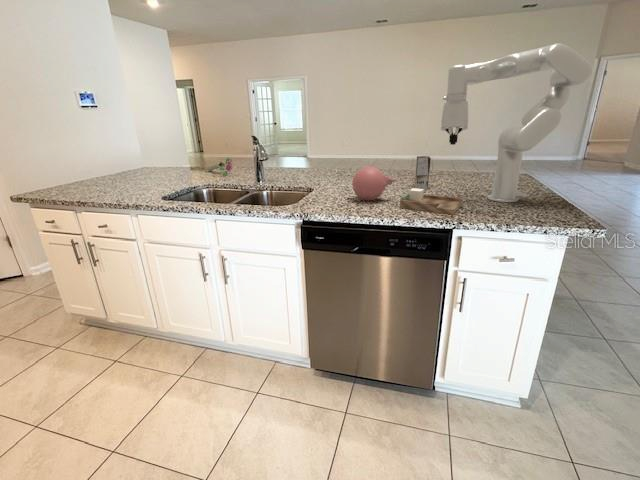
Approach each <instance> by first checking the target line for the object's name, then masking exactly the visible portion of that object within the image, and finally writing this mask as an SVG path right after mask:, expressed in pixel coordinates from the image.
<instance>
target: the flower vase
mask: <svg viewBox="0 0 640 480" xmlns="http://www.w3.org/2000/svg"><path fill="white" fill-rule="evenodd" d="M232 161H233V160H232V158H231V157H230V158H228V157H227V158H226V159H225V162H224V161H222V160H218V161H216V162H215V163H212V164H207V165H205V170H206V171H207V170H209V171H208V172H212V171H214V170H217V169H218V170H219V171H223V173H222V176H225V175H228V172H231V171H232V170H233V166H232V165H233V163H232Z"/></svg>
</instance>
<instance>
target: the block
mask: <svg viewBox="0 0 640 480" xmlns="http://www.w3.org/2000/svg"><path fill="white" fill-rule="evenodd" d="M408 193H409V199H412V200H421V199H423V196H424V194H425V189H417V188H415V187H412V188H411V189H409V192H408Z"/></svg>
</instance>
